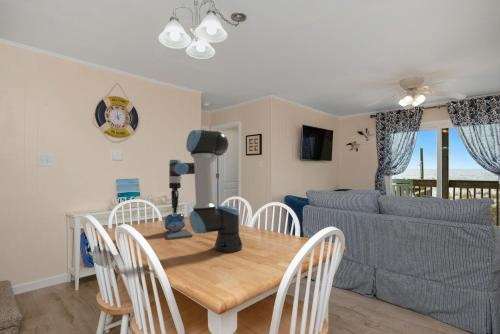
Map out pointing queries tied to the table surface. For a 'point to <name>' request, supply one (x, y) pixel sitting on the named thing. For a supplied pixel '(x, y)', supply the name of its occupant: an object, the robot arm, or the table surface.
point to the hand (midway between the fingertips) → (174, 217)
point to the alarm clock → (174, 222)
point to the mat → (177, 234)
